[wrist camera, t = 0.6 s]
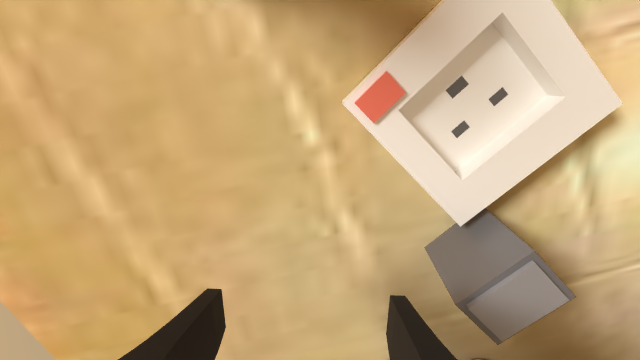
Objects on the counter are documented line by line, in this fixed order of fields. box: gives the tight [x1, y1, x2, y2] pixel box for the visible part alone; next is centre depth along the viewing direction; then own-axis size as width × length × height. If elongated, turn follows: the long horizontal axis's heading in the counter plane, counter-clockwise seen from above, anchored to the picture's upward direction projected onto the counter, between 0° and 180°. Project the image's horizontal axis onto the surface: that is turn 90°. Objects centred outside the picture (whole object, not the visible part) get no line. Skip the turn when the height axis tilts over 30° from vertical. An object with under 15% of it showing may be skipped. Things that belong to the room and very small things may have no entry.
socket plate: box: [342, 0, 623, 227], centre depth 18 cm, size 11×11×2 cm
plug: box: [425, 208, 576, 345], centre depth 19 cm, size 4×5×6 cm
